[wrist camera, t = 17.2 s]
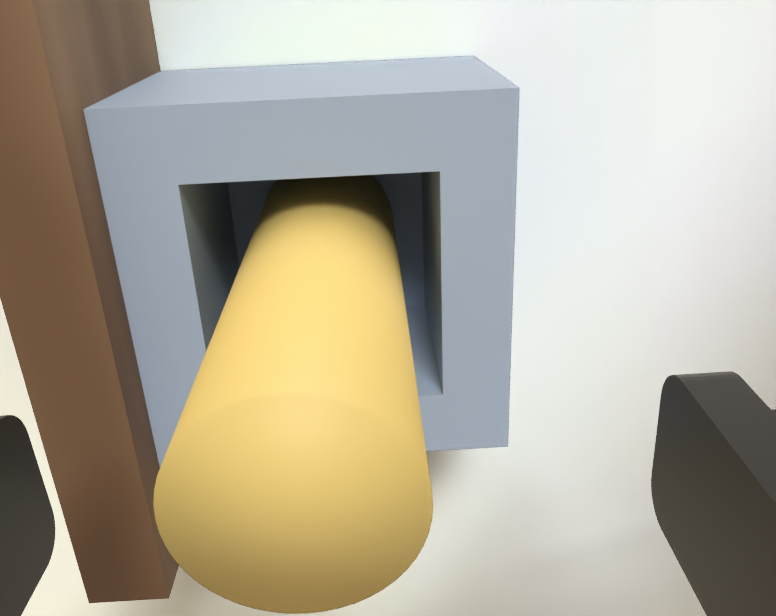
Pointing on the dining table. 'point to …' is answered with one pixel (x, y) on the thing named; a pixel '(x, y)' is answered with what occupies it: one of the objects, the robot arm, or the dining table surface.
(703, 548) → the robot arm
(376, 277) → the dowel
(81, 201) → the wall
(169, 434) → the socket block
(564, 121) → the dining table surface
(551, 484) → the dining table surface
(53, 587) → the dining table surface
